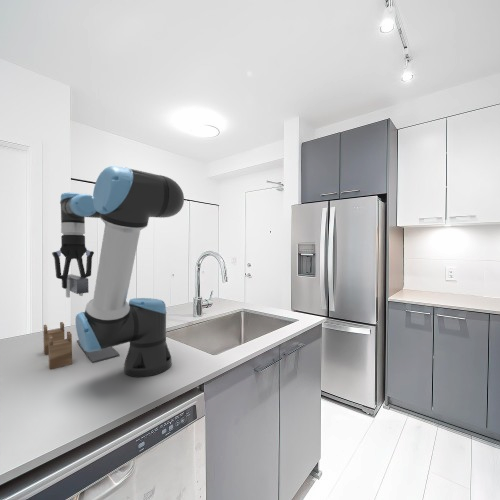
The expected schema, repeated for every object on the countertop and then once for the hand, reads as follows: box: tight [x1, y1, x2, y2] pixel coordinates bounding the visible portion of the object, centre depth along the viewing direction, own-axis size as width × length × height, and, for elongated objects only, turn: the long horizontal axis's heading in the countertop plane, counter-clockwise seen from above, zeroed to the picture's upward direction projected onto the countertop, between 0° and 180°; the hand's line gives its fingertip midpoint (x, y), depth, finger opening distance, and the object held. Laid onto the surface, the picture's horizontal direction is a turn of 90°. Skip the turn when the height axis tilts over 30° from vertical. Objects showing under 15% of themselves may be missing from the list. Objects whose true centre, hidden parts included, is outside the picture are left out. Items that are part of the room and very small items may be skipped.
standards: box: [43, 321, 73, 370], centre depth 99 cm, size 20×6×10 cm, turn 42°
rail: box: [61, 274, 90, 295], centre depth 102 cm, size 24×4×5 cm, turn 45°
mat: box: [76, 339, 120, 364], centre depth 108 cm, size 28×9×1 cm, turn 42°
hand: (74, 296), depth 102 cm, fingers closed on rail, 3 cm apart
